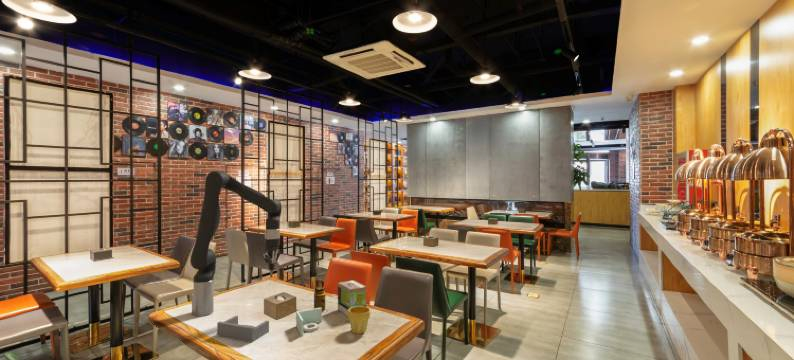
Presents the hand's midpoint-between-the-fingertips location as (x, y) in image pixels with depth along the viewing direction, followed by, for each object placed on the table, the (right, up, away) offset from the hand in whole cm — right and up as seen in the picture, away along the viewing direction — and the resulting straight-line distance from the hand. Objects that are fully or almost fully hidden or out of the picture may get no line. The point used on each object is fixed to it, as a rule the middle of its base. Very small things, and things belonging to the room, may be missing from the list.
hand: (271, 270), depth 182 cm
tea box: (+42, -23, +2) cm, 48 cm away
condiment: (+24, -23, +4) cm, 33 cm away
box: (-4, -23, -24) cm, 33 cm away
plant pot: (+48, -23, -21) cm, 57 cm away
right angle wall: (+26, -23, -19) cm, 40 cm away
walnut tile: (-4, -23, -25) cm, 34 cm away
